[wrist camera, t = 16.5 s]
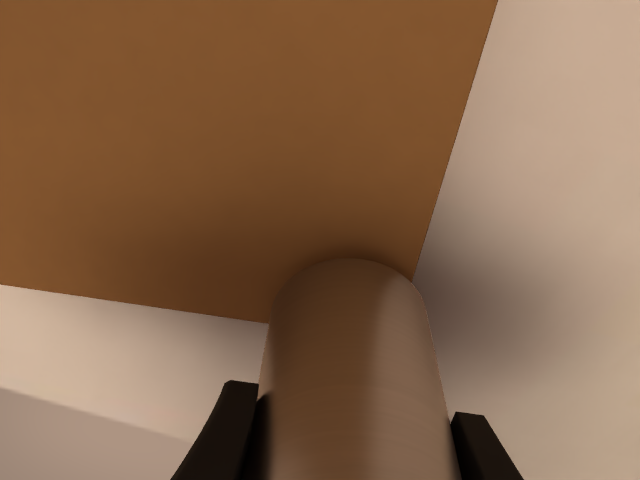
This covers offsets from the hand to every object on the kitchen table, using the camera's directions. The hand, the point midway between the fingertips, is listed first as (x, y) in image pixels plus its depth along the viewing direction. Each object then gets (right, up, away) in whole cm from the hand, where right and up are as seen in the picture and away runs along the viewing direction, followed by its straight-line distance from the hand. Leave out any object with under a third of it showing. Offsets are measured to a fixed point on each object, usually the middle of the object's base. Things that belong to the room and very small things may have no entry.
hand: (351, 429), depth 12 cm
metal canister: (0, +2, +3) cm, 3 cm away
